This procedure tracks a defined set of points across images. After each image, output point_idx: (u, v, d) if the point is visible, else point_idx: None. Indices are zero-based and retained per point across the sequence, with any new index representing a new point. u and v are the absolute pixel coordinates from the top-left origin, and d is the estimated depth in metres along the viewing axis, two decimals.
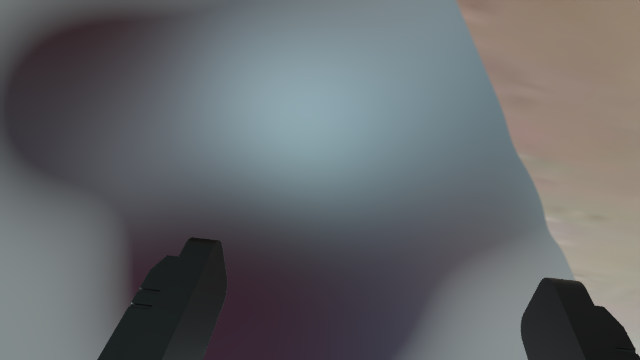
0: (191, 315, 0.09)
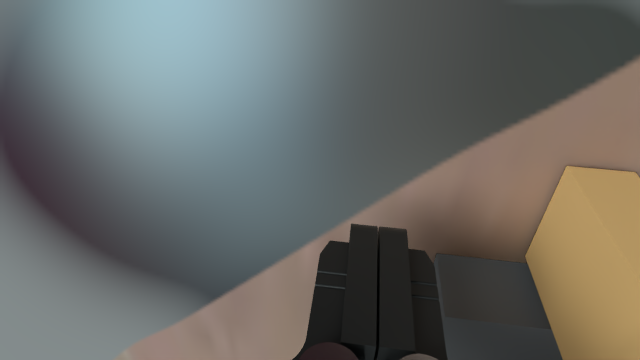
0: None
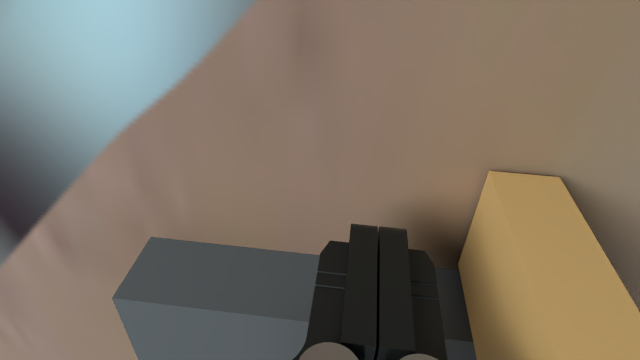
0: None
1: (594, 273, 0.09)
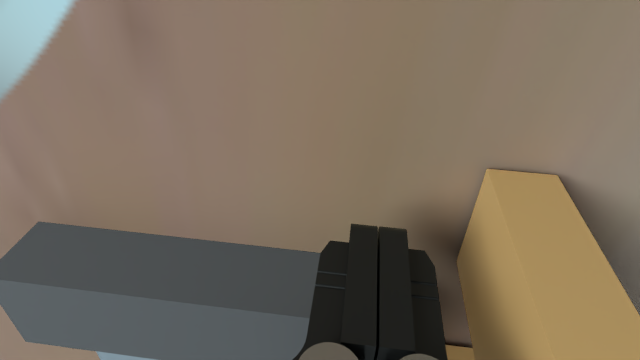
0: None
1: (590, 269, 0.09)
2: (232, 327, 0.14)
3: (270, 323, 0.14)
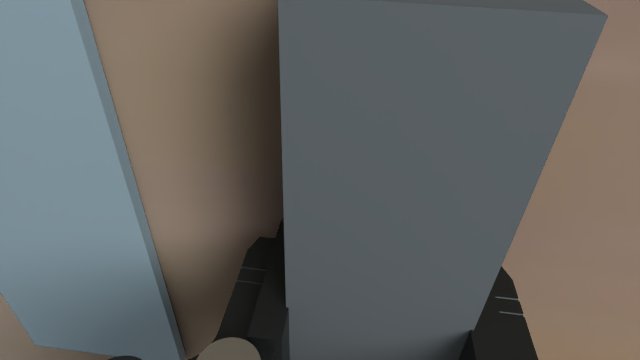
0: None
1: None
2: None
3: None
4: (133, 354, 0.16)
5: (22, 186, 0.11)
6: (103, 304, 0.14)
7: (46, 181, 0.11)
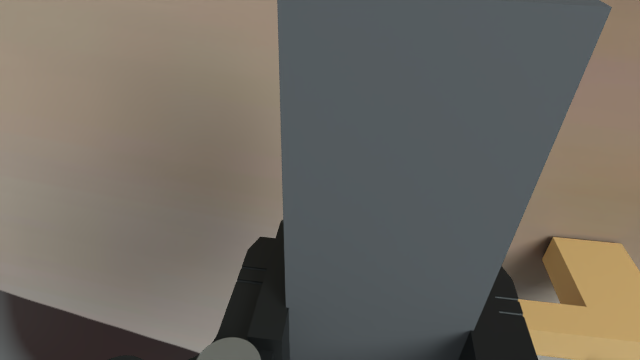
0: None
1: None
2: None
3: None
4: None
5: None
6: None
7: None
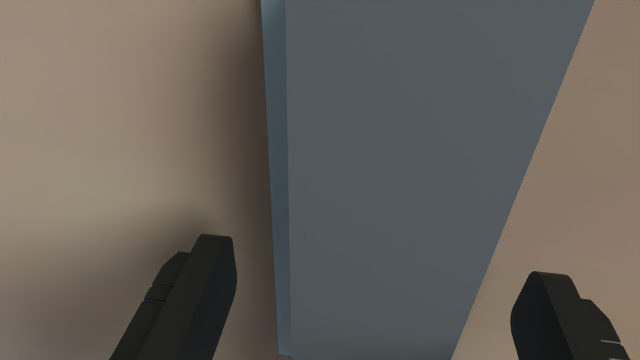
0: (204, 310, 0.09)
1: None
2: None
3: None
4: None
5: None
6: None
7: None
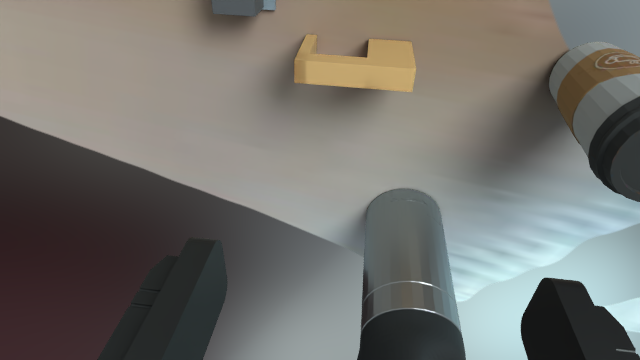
0: (191, 315, 0.09)
1: None
2: None
3: None
4: None
5: None
6: None
7: None
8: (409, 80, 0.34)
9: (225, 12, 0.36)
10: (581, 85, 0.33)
